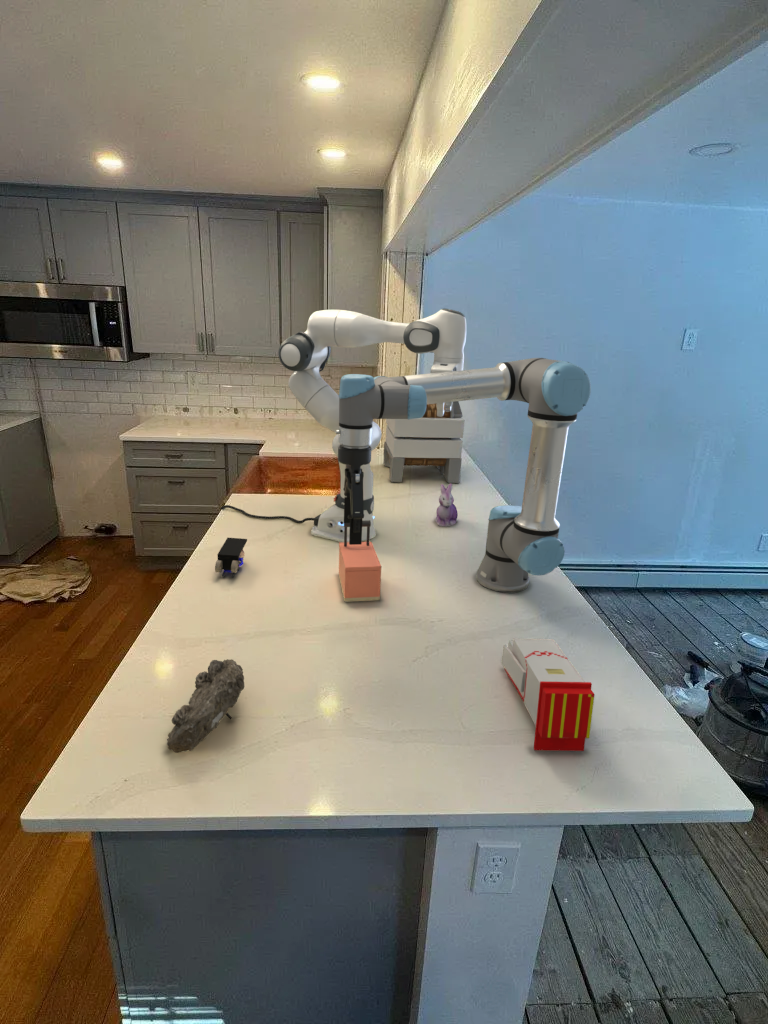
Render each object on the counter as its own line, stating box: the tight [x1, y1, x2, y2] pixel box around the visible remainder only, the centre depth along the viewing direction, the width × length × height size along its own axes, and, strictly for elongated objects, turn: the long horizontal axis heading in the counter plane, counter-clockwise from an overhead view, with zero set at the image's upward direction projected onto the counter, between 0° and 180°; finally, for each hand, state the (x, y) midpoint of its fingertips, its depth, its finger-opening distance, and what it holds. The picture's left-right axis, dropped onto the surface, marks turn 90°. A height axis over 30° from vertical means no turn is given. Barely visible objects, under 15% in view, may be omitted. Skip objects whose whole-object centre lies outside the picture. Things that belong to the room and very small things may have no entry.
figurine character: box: [214, 537, 248, 578], centre depth 166 cm, size 7×8×15 cm
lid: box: [338, 520, 382, 571], centre depth 157 cm, size 17×10×9 cm, turn 10°
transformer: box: [383, 401, 465, 484], centre depth 268 cm, size 34×33×41 cm
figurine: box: [434, 483, 459, 527], centre depth 210 cm, size 9×10×15 cm
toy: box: [500, 637, 595, 752], centre depth 114 cm, size 12×13×30 cm
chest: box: [338, 547, 382, 603], centre depth 159 cm, size 16×10×9 cm, turn 10°
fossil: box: [166, 658, 245, 754], centre depth 106 cm, size 22×10×15 cm
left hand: (444, 413), depth 173 cm, fingers open, 8 cm apart
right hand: (352, 532), depth 135 cm, fingers open, 13 cm apart
